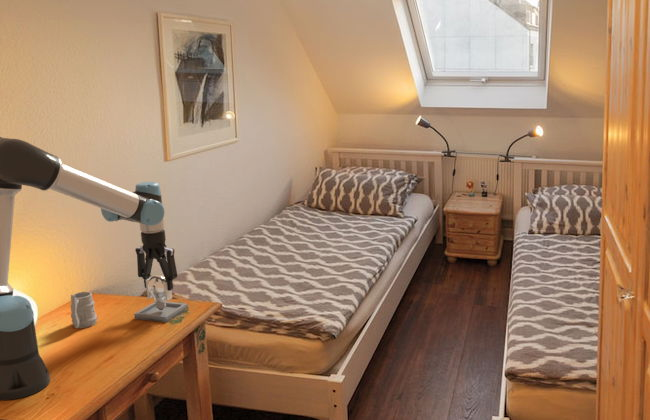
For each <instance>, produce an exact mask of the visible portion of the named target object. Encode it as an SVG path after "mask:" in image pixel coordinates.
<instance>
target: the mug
mask: <svg viewBox="0 0 650 420" xmlns="http://www.w3.org/2000/svg"><path fill="white" fill-rule="evenodd" d="M70 301H71V302H70V303H71V304H70V311H71V314H70V318H71V322H72V325H73V326H74V328H75V329H78V328H79V329H85V328H89V327H92V326H94V325H96V324H97V322H98V321H97V319H98V315H97V314H96V310H95V304H96V303H95V300H93V294H92V292H91V291H80V292H76V293H73V294H71V295H70Z"/></svg>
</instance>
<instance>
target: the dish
mask: <svg viewBox="0 0 650 420" xmlns="http://www.w3.org/2000/svg"><path fill="white" fill-rule="evenodd" d="M187 308H188V309H189V303H184V302H173V301H166V307H165V308H164V309H163V310H159V309H158V308H156V304H155V301H153V302H152V303H150V304H148V305H147V306H145V307H144V308H141V309H140V310H138V311H136V312H134V313H133V315H134V319H135V320H140V321H141V320H143V321H152V322H158V323H159V322H161V323H168V322H170V321H172V320H173V319H175V318H176V317H178V316H179V315H181V314H182V312H183V311H184V310H185V309H187ZM188 309H187V310H188ZM184 312H185V311H184ZM184 312H183V313H184ZM180 313H181V314H180Z"/></svg>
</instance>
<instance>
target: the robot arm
mask: <svg viewBox="0 0 650 420" xmlns="http://www.w3.org/2000/svg"><path fill="white" fill-rule="evenodd" d="M23 186H26V187H31V188H35V189H38V190H41V191H44V192H45V191H49V190H52V191H54V192H57V193H59V194H63V195H65V196H68V197H70V198H72V199H76V200H79V201H81V202H84V203H85V204H86V203H87V204H89V205H92V206H94V207H97V208H99V209H100V211H101V215H102V216H103V218H104V220H105V221H107V222H118V221H121V220H124V221H128V222H132V223H137V224H139V230H140V231H141V232H140V237H141V239H140V240H141V243H142V245H141V246H138V247H137V248H135V253H136V258H137V259H136V260H137V261H136V262H137V277H138V278H142V279H143V282H144V283H143V285H144V288H145V289H146V296H147V299H148V300H150V299H152V298H154V297H153V295H152V294H151V293H150V292H149V290H148V282H149V280H150V278H151V277H153V275H151V274H152V268H153V263H154V260H156V262H157V263H158V264H159V266H160V268H161V272H162V275H163V276H164V277H165V281H164V289H165V298H166V300H165V301H166V302H169V301H170V300H172V299H173V290H174V284H173V283H174V282H173V280H175V279H177V278H178V273H177V272H178V270H177V267H176V266H177V265H176V260H175V249H174V248H169V247H168V246H167V245H166V231H165V230H164V229H165V223H164V222H165V221H164V217H165V212H166V211H165V207H164V205H163V201H162V191H161V185H160V184H159V183H158V182H156V181H145V182H140V183H137V184H135V191H131V190H128V189H126V188H123V187H121V186H118V185H116V184H114V183H111V182H109V181H106V180H104V179H102V178H99V177H97V176H95V175H92V174H89V173H87V172H85V171H82V170H79V168H78V169H77V168H75V167H73V166H70V165H68V164H66V163H63V162H62V160H61V158H60V157H59V156H56V155H53V154H52V153H49V152H48V151H46V150H44V149H41V148H39V147H37V146H35V145H33V144H32V143H29V142H27V141H26V140H23V139H20V138H19V139H18V138H9V137H7V138H6V137H2V136H0V401H8V400H17V399H22V398H25V397H29V396H31V395H34V394H36V393H38V392H41V391H42V390H43V389H45V388H46V387H47V386H48V385H49V384H50V382H51V376H50V372H49V369H48V367H47V366H46V364H45V362H44V361H43V358H42V357H41V355H40V353H39V346H38V339H37V333H36V326H35V318H34V310H33V308H32V305H31V302H30V301H29V300H28V299H27V298H26V297H24V296H20V295H14V288H13V287H12V286H11V285H10V284H9V282H8V281H9V270H10V258H11V250H12V249H11V248H12V247H11V246H12V235H13V222H14V210H15V200H16V199H15V197H16V195H17V194H18V193H19V192H21V191H22V187H23Z"/></svg>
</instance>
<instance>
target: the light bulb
mask: <svg viewBox="0 0 650 420" xmlns="http://www.w3.org/2000/svg"><path fill="white" fill-rule="evenodd" d="M149 278H150V277H149ZM164 281H165V277H164V274H154V275H152V276H151V278H150V280H149V282H148V290H149V292H150V293H151V294H152V295H153V297H152V298H153V299H154V302H155V304H156V308H158V309H159V310H163V309H164V308H165V307H166V302H167V301H166V298H165V289H164Z"/></svg>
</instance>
